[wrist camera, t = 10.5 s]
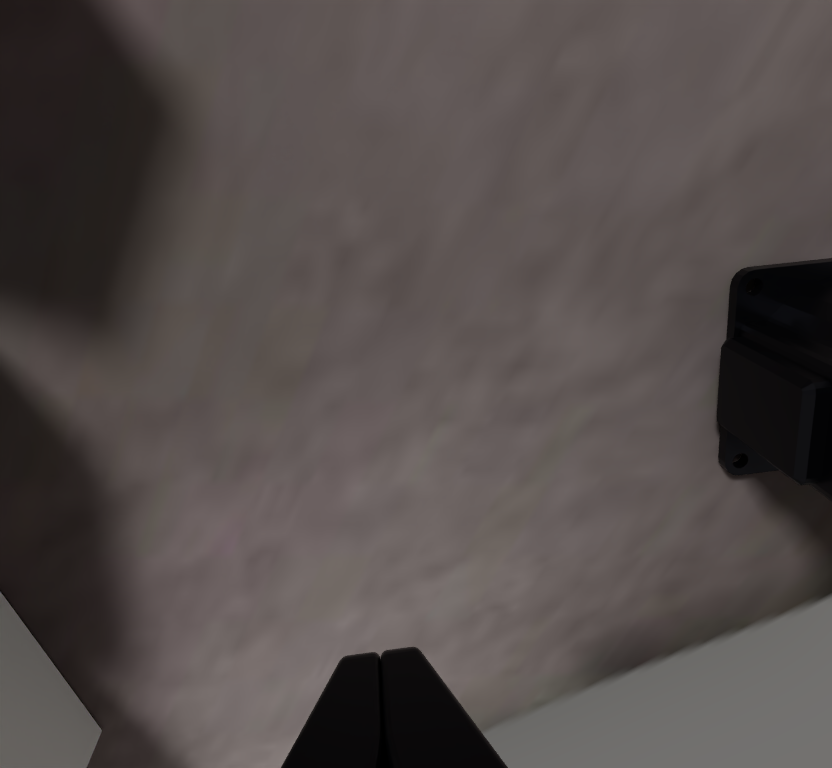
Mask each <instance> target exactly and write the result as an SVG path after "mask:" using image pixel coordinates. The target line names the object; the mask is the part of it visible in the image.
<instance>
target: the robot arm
mask: <svg viewBox="0 0 832 768" xmlns="http://www.w3.org/2000/svg"><path fill="white" fill-rule="evenodd" d="M751 279H755V286H754V288H753V289H752V290H751V291H750V292H748V293H747V292H746V285H747V283H748V282H749V281H750V280H751ZM717 422H718V423H719V424H721V427H720V442H719V456H718V458H719V463H720V464H721V466H722V467H723V468H724V469H725V470H727V471H728V472H729V473H731V474H733V475H744V474H752V473H760V472H768V471H776V470H780V471H781V472H782V473H784V474H785V475H786V476H788V477H789V478H790V479H792V480H793V481H794V482H796V483H797V484H799V485H808V484H809V485H811V486H812V487H813V488H815V489H816V490H817V491H819V492H820V493H821V494H823V495H824V496H825V497H827V498H828V499H829V500H831V501H832V258H829V259H820V260H810V261H801V262H791V263H782V264H772V265H763V266H754V267H747V268H744V269H741V270H740V271H738V272H737V273H736V274H735V276H734V277H733V278H732V281H731V285H730V296H729V311H728V325H727V340H726V341H725V342H724V344H723V345H722V347H721V360H720V375H719V390H718V405H717ZM740 453H741V454H742V455H741V457H740V459H739V460H738V461H736V462H734V463H732V461H733V458H734V457H735V456H736V455H738V454H740ZM281 768H508V767H507V766H506V765H505V763H504V762H503V761H502V759H501V758H500V757H499V755H498V754H497V753H496V751H495V750H494V749H493V747H492V746H491V745H490V743H489V742H488V741H487V739H486V738H485V737H484V735H483V734H482V733H481V731H480V730H479V728H478V727H477V726H476V724H475V723H474V722H473V720H472V719H471V718H470V716H469V715H468V714H467V712H466V711H465V710H464V708H463V707H462V706H461V704H460V703H459V702H458V700H457V699H456V698H455V696H454V695H453V694H452V692H451V691H450V690H449V688H448V687H447V686H446V684H445V683H444V682H443V680H442V679H441V678H440V676H439V675H438V674H437V672H436V671H435V670H434V668H433V667H432V666H431V664H430V663H429V662H428V660H427V659H426V657H425V656H424V655H423V653H422V652H421V651H420V650H419V649H418V648H416V647H407V648H400V649H392V650H386V651H384V652H383V653H382V655H381V659H380V656H379V655H378V654H377V653H375V652H370V653H363V654H356V655H348V656H345V657H343V658H342V659H341V660H340V662H339V663H338V665H337V667H336V669H335V671H334V672H333V674H332V676H331V678H330V680H329V682H328V683H327V685H326V687H325V689H324V691H323V692H322V694H321V696H320V698H319V700H318V702H317V703H316V705H315V707H314V709H313V711H312V712H311V714H310V716H309V718H308V720H307V721H306V723H305V725H304V727H303V729H302V731H301V732H300V734H299V736H298V738H297V740H296V741H295V743H294V745H293V747H292V749H291V751H290V752H289V754H288V756H287V758H286V760H285V761H284V763H283V765H282V767H281Z"/></svg>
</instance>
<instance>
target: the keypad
mask: <svg viewBox="0 0 832 768" xmlns="http://www.w3.org/2000/svg"><path fill="white" fill-rule="evenodd" d="M101 732H102V730H101V728H100V727H99V726H98V724H97V723H96V721H95V720H94V719H93V717H92V716H91V715H90V713H89V712H88V710H87V709H86V708H85V706H84V705H83V704H82V702H81V701H80V700H79V698H78V697H77V695H76V694H75V693H74V691H73V690H72V689H71V687H70V686H69V684H68V683H67V682H66V680H65V679H64V678H63V676H62V675H61V674H60V672H59V671H58V669H57V668H56V667H55V665H54V664H53V663H52V661H51V660H50V659H49V657H48V656H47V654H46V653H45V652H44V650H43V649H42V648H41V646H40V645H39V643H38V642H37V641H36V639H35V638H34V637H33V635H32V634H31V633H30V631H29V630H28V628H27V627H26V626H25V624H24V623H23V622H22V620H21V619H20V618H19V616H18V615H17V613H16V612H15V611H14V609H13V608H12V607H11V605H10V604H9V602H8V601H7V600H6V599H5V597H4V596H3V594H2V593H1V592H0V768H87V766H88V763H89V761H90V759H91V756H92V754H93V752H94V749H95V747H96V744H97V742H98V740H99V737H100V735H101Z"/></svg>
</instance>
